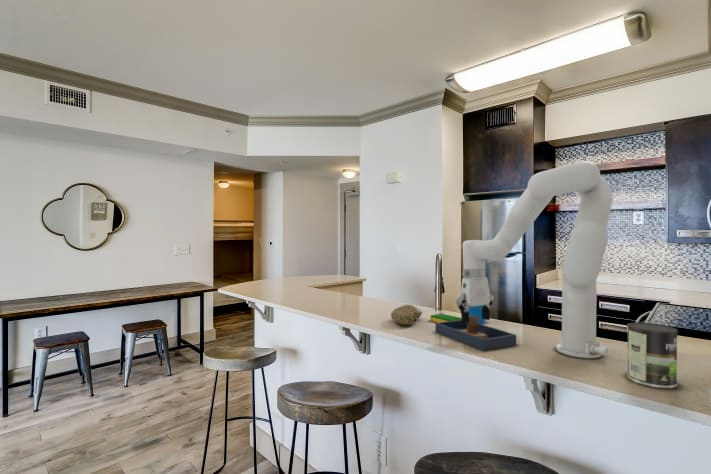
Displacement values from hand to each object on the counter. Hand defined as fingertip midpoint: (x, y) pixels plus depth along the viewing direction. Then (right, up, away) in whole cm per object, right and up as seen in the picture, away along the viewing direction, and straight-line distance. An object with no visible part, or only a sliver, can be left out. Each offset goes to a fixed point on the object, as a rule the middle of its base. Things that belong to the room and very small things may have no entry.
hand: (475, 320), depth 137 cm
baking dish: (-1, -7, +1) cm, 6 cm away
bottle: (+8, -6, +26) cm, 28 cm away
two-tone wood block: (-1, -6, +1) cm, 6 cm away
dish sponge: (-4, -6, +24) cm, 25 cm away
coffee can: (+33, -7, -39) cm, 52 cm away
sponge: (-22, -6, +25) cm, 34 cm away
